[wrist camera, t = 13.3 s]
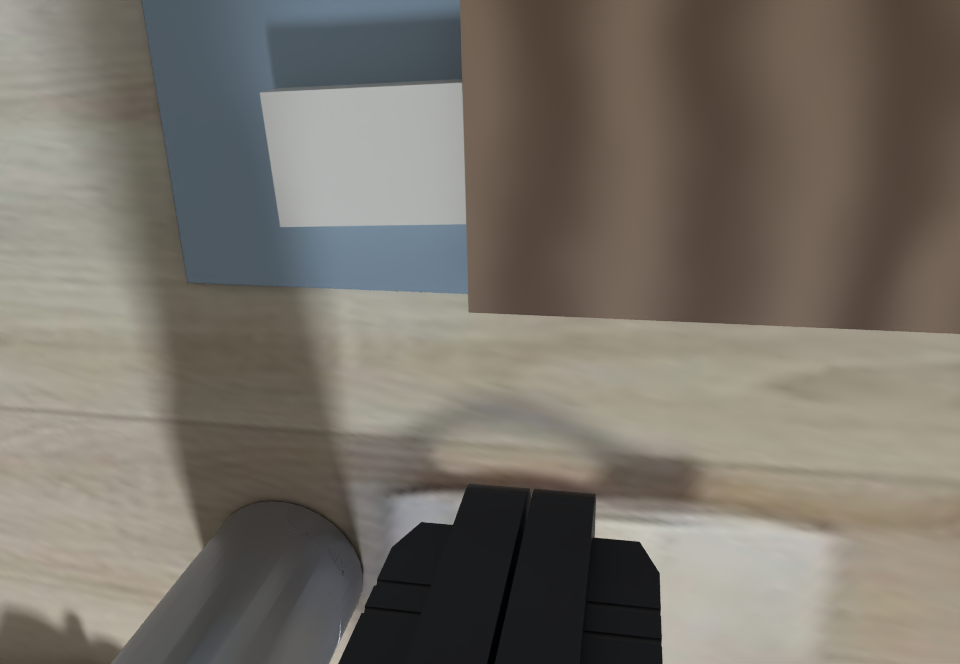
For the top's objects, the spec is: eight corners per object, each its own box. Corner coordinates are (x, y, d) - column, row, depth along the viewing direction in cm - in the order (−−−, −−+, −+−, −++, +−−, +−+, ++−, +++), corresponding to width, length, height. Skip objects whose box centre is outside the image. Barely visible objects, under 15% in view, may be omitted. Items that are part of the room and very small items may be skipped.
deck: (995, -22, 31) (1043, -25, 27) (932, 300, 36) (965, 334, 32) (478, -9, 34) (459, -10, 31) (484, 283, 39) (468, 312, 36)
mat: (467, -23, 34) (465, -23, 34) (475, 292, 40) (473, 294, 39) (143, -13, 37) (139, -13, 37) (190, 280, 42) (187, 282, 42)
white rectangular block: (470, 78, 36) (461, 82, 34) (479, 213, 38) (471, 224, 36) (278, 88, 37) (259, 92, 35) (296, 216, 39) (280, 227, 38)
